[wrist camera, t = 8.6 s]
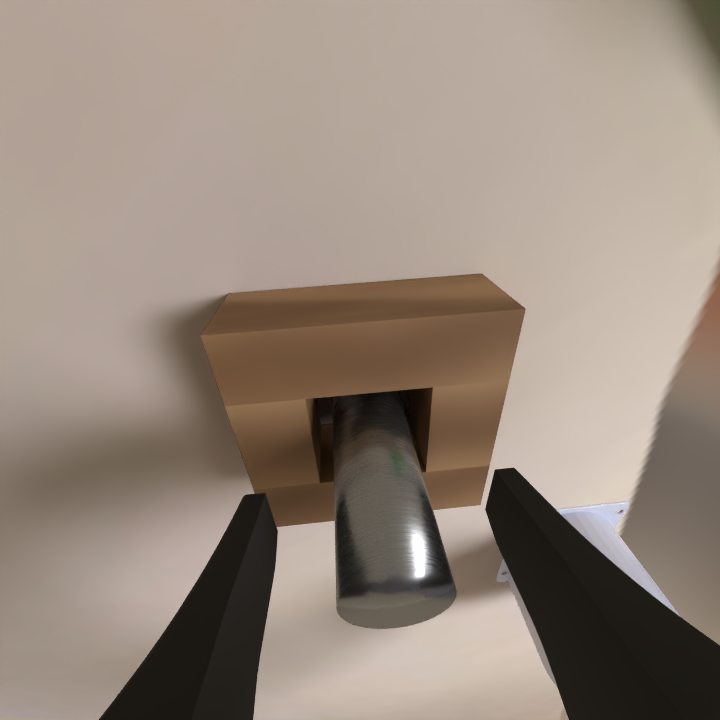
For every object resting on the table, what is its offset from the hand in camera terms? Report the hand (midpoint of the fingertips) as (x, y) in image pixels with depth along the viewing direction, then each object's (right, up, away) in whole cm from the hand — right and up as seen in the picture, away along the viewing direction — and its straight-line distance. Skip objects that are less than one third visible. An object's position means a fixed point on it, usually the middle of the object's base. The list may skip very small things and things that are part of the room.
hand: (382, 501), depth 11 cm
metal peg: (-1, +3, +5) cm, 6 cm away
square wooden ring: (-1, +3, +5) cm, 6 cm away
